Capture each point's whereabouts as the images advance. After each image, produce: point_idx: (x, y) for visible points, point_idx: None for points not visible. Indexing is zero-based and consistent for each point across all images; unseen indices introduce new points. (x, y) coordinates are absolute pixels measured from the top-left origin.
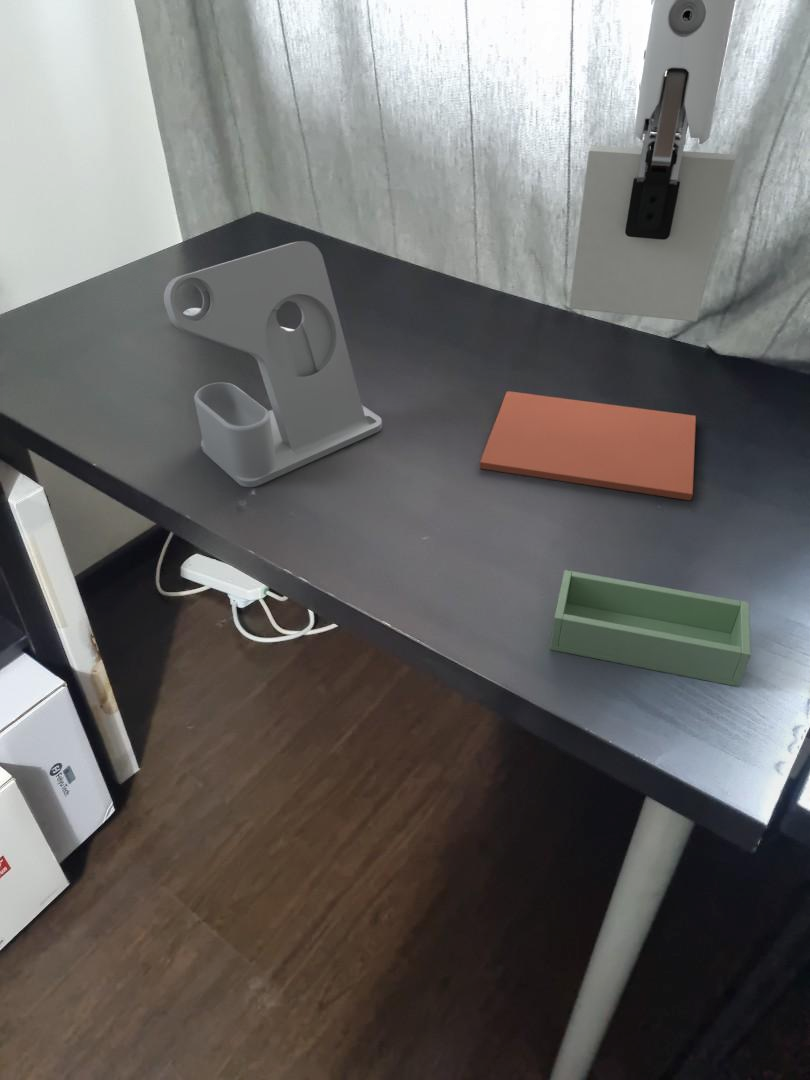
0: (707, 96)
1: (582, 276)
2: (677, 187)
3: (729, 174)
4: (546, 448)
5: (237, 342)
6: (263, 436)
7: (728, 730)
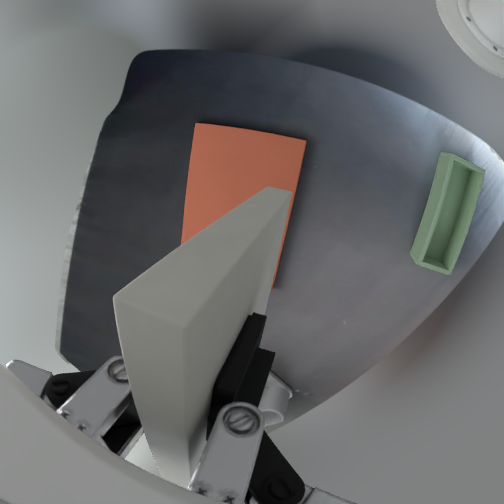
0: None
1: None
2: (237, 388)
3: (210, 301)
4: None
5: None
6: (280, 406)
7: (491, 184)
